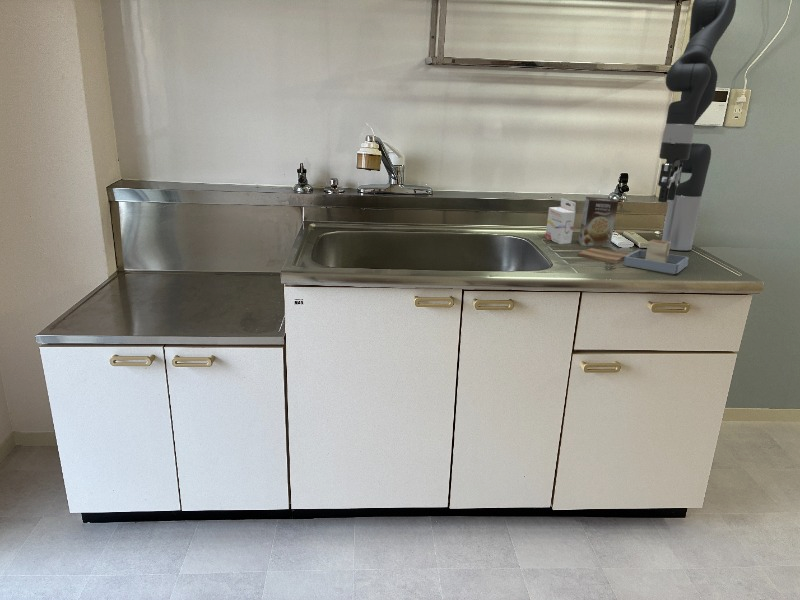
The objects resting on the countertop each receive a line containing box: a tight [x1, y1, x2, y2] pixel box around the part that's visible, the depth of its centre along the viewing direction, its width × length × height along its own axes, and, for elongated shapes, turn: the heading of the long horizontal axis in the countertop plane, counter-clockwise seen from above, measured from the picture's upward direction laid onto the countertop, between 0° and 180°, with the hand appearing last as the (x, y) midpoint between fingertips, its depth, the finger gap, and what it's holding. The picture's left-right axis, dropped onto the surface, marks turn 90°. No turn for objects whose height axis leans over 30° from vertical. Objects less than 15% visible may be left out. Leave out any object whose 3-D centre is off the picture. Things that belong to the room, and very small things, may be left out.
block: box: [644, 239, 671, 263], centre depth 167 cm, size 5×5×7 cm
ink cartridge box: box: [544, 197, 577, 245], centre depth 190 cm, size 9×5×15 cm, turn 22°
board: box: [576, 247, 629, 265], centre depth 175 cm, size 12×12×1 cm
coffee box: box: [578, 196, 619, 248], centre depth 187 cm, size 9×6×16 cm
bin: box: [622, 249, 690, 275], centre depth 167 cm, size 15×15×2 cm
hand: (666, 200), depth 162 cm, fingers open, 8 cm apart
